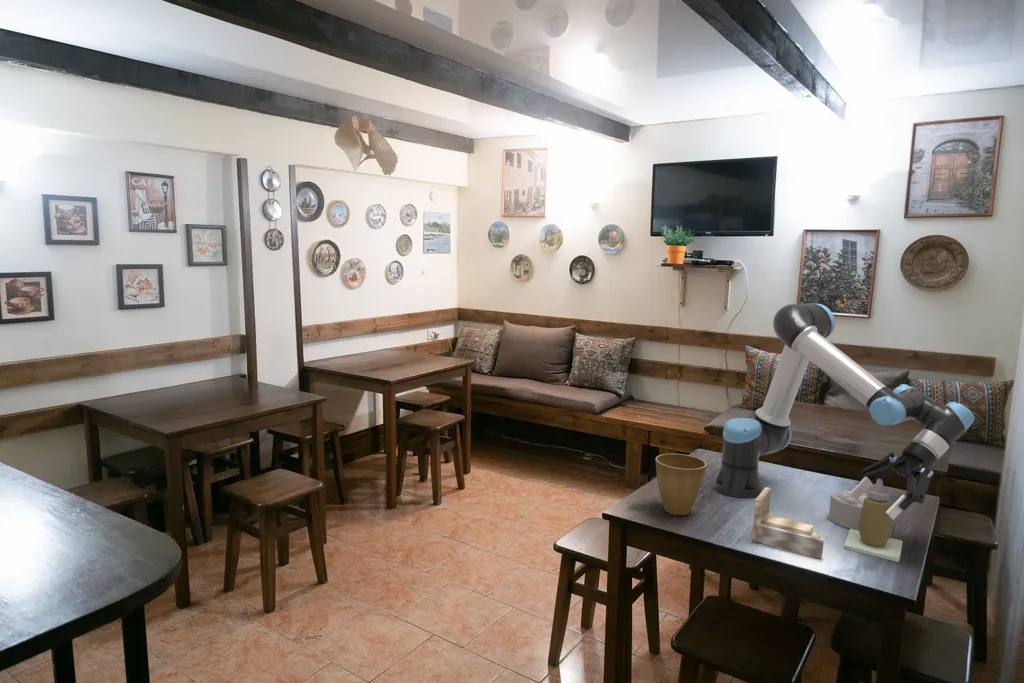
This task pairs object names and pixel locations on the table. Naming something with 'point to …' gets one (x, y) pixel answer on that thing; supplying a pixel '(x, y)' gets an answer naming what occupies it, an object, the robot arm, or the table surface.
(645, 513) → the table surface
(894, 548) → the sage mat
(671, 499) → the plant pot
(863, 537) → the squeeze bottle
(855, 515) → the lumpy-topped squat cylinder
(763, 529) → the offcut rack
